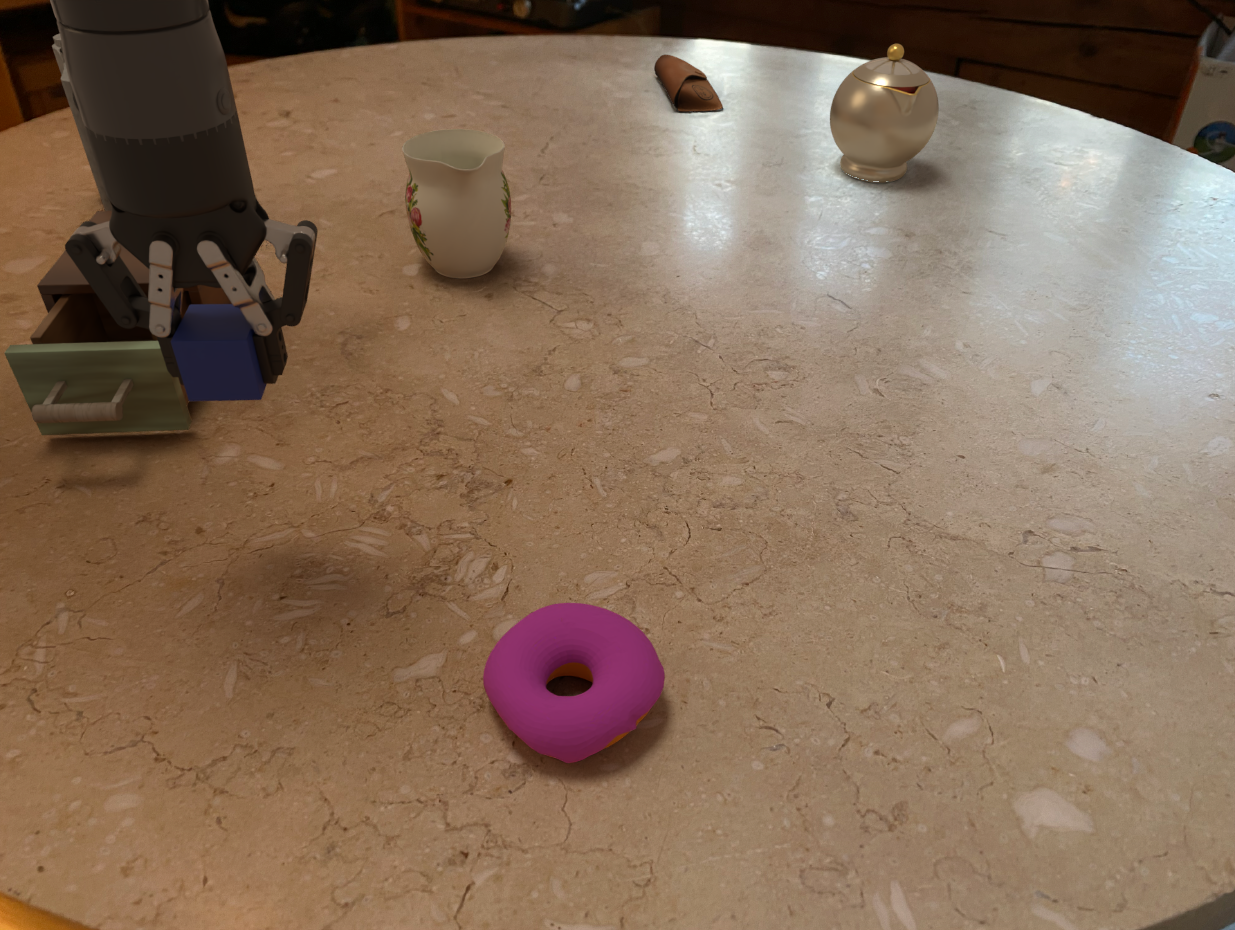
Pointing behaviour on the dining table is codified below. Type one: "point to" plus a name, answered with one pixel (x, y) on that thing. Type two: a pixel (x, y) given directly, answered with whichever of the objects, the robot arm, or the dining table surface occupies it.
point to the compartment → (97, 373)
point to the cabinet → (72, 281)
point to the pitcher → (458, 199)
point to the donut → (580, 649)
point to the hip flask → (79, 121)
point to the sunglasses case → (686, 85)
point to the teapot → (883, 117)
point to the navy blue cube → (217, 354)
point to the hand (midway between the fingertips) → (231, 376)
